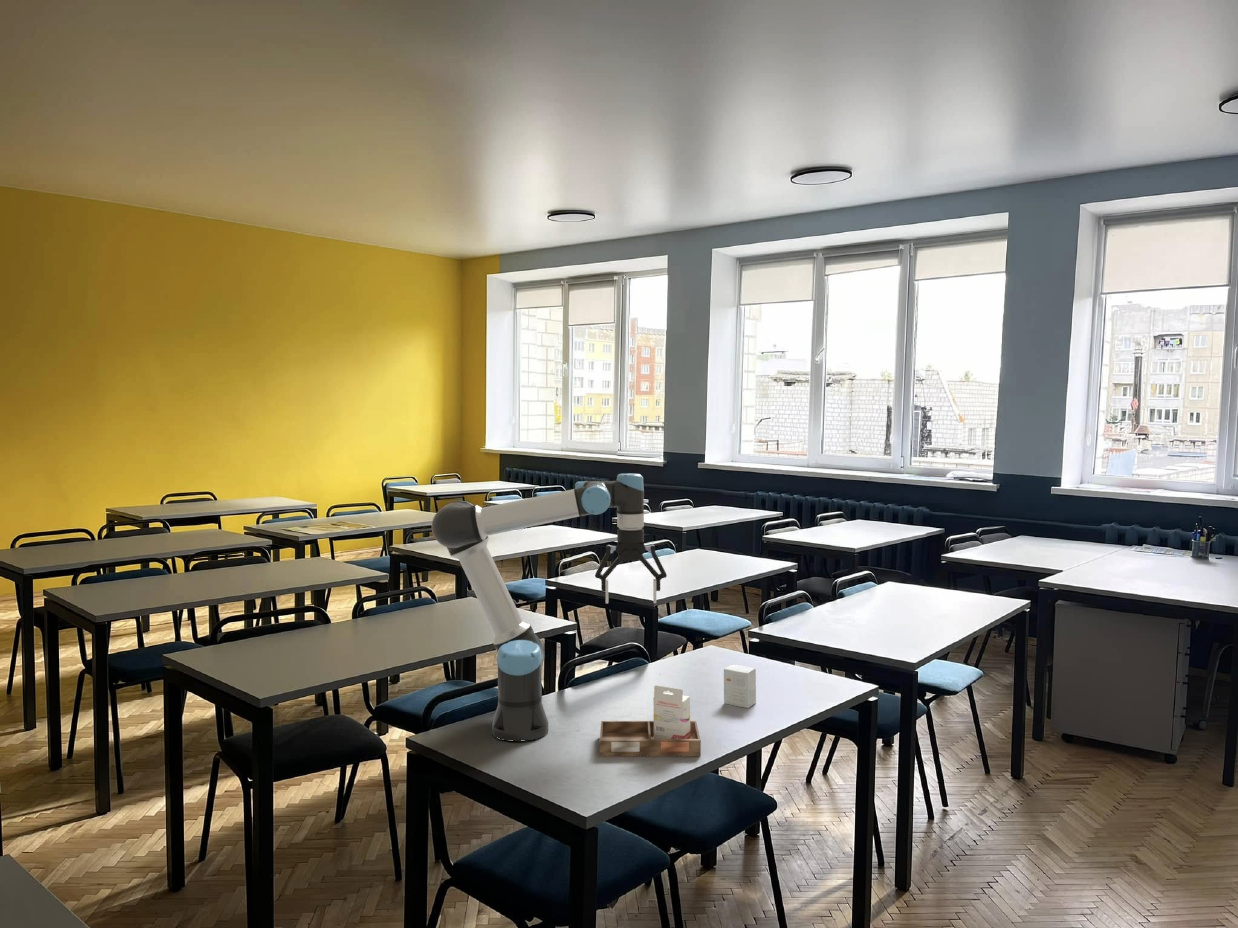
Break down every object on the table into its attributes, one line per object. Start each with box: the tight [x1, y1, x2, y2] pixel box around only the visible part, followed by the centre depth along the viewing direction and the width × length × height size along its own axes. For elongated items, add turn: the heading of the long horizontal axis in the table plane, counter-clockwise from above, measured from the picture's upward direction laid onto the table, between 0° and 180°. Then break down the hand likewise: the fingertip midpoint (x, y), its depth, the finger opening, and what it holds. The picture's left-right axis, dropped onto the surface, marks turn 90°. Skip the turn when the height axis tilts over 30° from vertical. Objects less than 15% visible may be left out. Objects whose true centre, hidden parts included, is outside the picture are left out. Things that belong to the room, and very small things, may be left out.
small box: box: [723, 664, 757, 709], centre depth 247 cm, size 8×6×10 cm
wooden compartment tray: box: [599, 720, 702, 757], centre depth 215 cm, size 25×14×4 cm, turn 90°
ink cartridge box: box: [653, 685, 691, 739], centre depth 215 cm, size 9×5×15 cm, turn 62°
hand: (630, 602), depth 238 cm, fingers open, 13 cm apart
